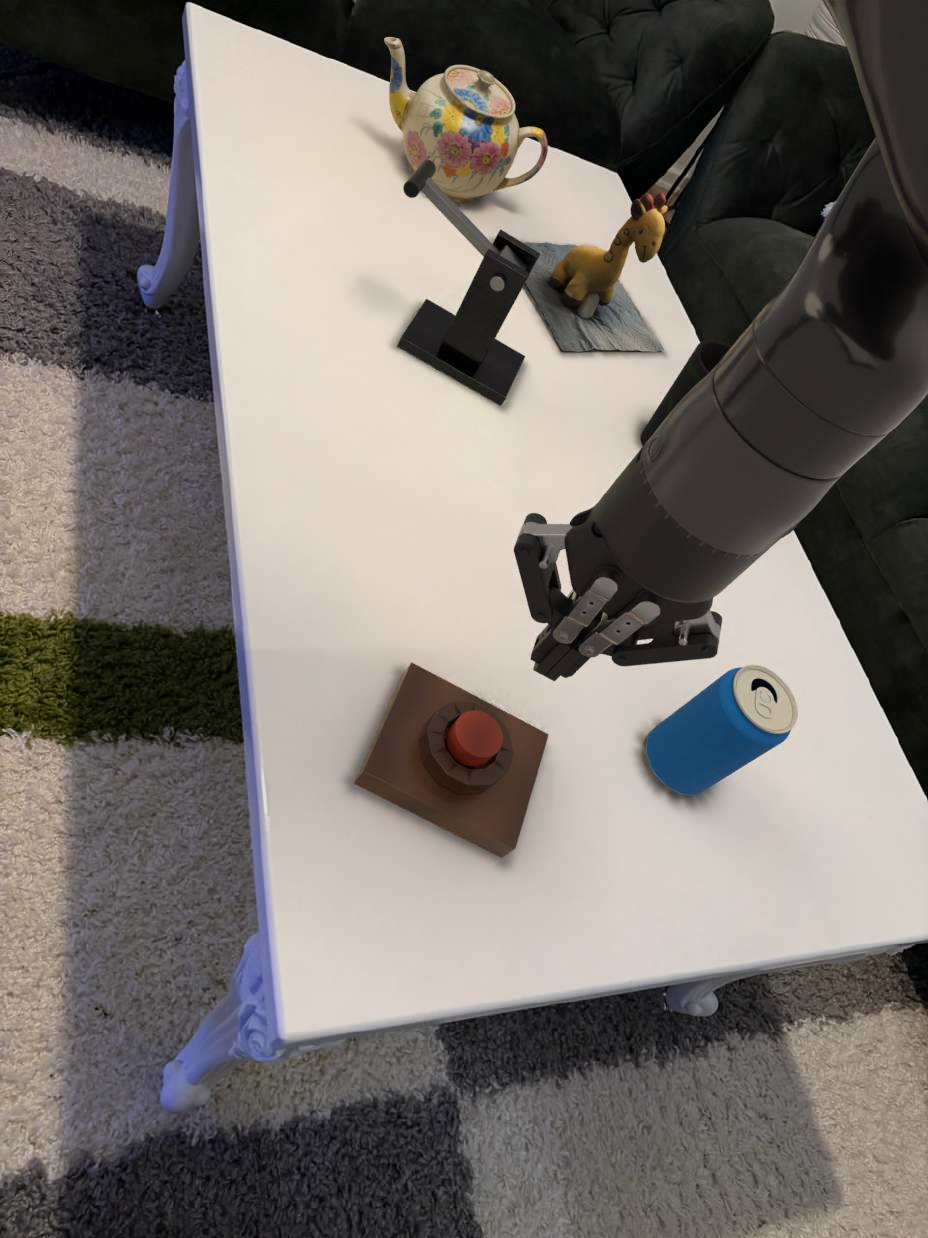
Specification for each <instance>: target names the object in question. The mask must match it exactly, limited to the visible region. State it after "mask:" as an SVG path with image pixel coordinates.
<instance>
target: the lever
mask: <svg viewBox="0 0 928 1238" xmlns="http://www.w3.org/2000/svg"><path fill="white" fill-rule="evenodd" d="M435 172H436V166H435V164H434V163H433V162H432V161H431V160H424V161H423V162H422V163H421V165H420V166H419V167H418V168H417V169H416V171H415V172H414V173H413V174H412V173H411V175H410V176H409V178H408V179H407V180H406V181H405V183H404V184H403V187H402V189H403V193H404V194H405V196H406V197H408V198H410V199H414V198H416V197H417V196H419V194H420V193H422V194H423V195H424V196H425V197H426V198H427V199H428V200H429V201H430V203H431V204H432V205H433V206H434V207H435V208H436V209H437V210H438V211H439V212H440V213H441V214H442V215H443V216H444V217H445V218H446V220H447V221H449V222H450V223H451V224H452V225H453V227H455V229H457V231H458V232H459V233H460V234H461V235H462V236H463V237H464V238H465V239H466V240H467V241H468V242H469V243H470V244H471V245H472V247H474V248H475V250H476V251H478V252H479V254H480V255H481V256H482V258H484V256H485V254H486V252H487V250H488V249H490V250H492V251H494V252H495V253H497V254H499V255H500V256H502V257H504V258H505V259H507V260H509V261H510V262H512V263H514V264H515V265H517V266H519V267H520V268H522V269H524V270H526V268H527V266H526V265H525V264H524V263H523V262H522V261H521V260H520V259H519V257H518V256H517V255H516V254H515V253H514V252H513V251H512V250H511V249H510V248H509V247H508V246H507V245H506V246H505V247H504V248H503V249H502V250H501V251H499V250H498V249H497V248H496V247H495V246H494V245H493V242H491V241H490V240H489V238H487V237H486V235H485V234H484V233H483V232H482V231H481V230H480V229H479V228H478V227H477V226H476V225H475V224H474V222H472V221H471V220H470V218H469V217H468V216H467V215H466V214H465V213H464V212H463V211H462V209H460V208H459V207H458V206H457V205H456V203H455V202H453V201H451V199H450V198H449V197H448V196H447V195H446V194H445V193H444V192H443V191H442V190H441V189H440V188H439V187H438V186H437V185H436V184H435V182H434V181H433V180H432V179H431V178H432V176H433V175H434V174H435Z"/></svg>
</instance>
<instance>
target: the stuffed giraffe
mask: <svg viewBox="0 0 928 1238" xmlns="http://www.w3.org/2000/svg"><path fill="white" fill-rule="evenodd" d="M666 202H667V199H666V196H665V194H664V193H663V192H659V193H657V194H656V195H655V196H654V198H653V196H652V194H650V193H645V194H643V195H642V196H641V198H640V199H639V198H636V199H634V200H633V201H632V203H631V205H630V215H631V216H630V217H629V218H628V219H627V220H626V221H625V223H624V224H623V225H622V226H621V228H619V230H618V231H617V232H616V234H615V237H614V238H613V240H612V242H611V244H610V247H609V249H608V250H605V249H602V248H598V247H595V246H592V245H585V244H583V245H581V244H580V245H576V244H569V243H568V244H557V243H552V242H533V241H532V242H530V241H526V242H523V243H524V244H526V245H527V246H529V247H531V248H532V249H534V250H536V251H537V252H539V253H540V256H539V258H538V259H537V261H536V263H535V265H534V267H533V269H532V271H531V272H530V275H529V277H528V279H527V280H526V282H525V285H526V286H527V288H528V290H529V292H530V293H531V295H532V297H533V298H534V300H535V301H536V304H537V305H538V308H539V310H540V311H541V312H542V313H543V315H544V317H545V320H546V322H547V324H548V325H549V327H550V330H551V332H552V334H553V336H554V338H555V340H556V342H557V343H558V345H559V347H560V348H561V351H566V352H570V351H571V352H576V353H579V352H589V351H591V350H593V349H596V350H600V351H601V350H602V351H615V350H616V351H617V350H619V351H623V352H625V351H633V352H634V351H640V352H652V353H657V352H662V351H665V349H664V347H663V344H662V343H661V342H660V341H659V339H657V338H656V337H655V336H654V335H653V334H652V333H651V332H650V329H649V328H648V325H647V324H646V323H645V321H644V318H643V317H642V316H641V315H642V314H641V312H640V310H639V309H638V306H637V305H635V302H634V301H633V300H632V298H631V297H630V296H629V295H628V292H627V290H626V288H625V287H624V285H623V283H621V281H620V277H621V274H622V271H623V269H624V267H625V265H626V260H627V258H628V255H629V250H630V248H631V246H632V245H633V243H634V250H635V254H636V257H637V258H638V261H639V262H640V263H642V264H645V263H647V262H649V261H651V260H652V259H653V258H654V257H655V256H656V254H657V253H658V252H659V250H660V247H661V245H662V241H663V238H664V235H665V232H666V222H665V221H666V220H665V219H664V215H665V214H667V212H668V210H669V207H668V206H667V205H665V204H666Z"/></svg>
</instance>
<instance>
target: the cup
mask: <svg viewBox="0 0 928 1238" xmlns="http://www.w3.org/2000/svg"><path fill="white" fill-rule="evenodd" d="M732 346H733V345H732ZM732 346H731V345H730V344H728V343H727V342H723V341H720V340H716V339H705V340H702V341H700V342H699V343H698V344H697V345H696V347H695V349H694V350H693V352H692V354H691V355H690V356H689V358H688V359H687V361H686V363H685V365H683V367H682V369H681V370H680V372H679V374H678V375H677V377H676V378H675V380H674V381H673V383H672V385H671V386H670V388H669V389H668V391H667V392H666V394H665V395H664V397H663V398H662V400H661V401H660V403H659V405H658V406H657V408H656V409H655V411H654V412H653V414H652V415H651V417H650V418H649V420H648V421H647V423H646V425H645V426H644V428H643V430H642V431H641V434H640V443H641V445H642V447H643V446H644V445H645V443H646V442H647V441H648V440H649V439H650V437H651V436H652V435H653V434H654V432H655V431H656V430H657V428H658V427H659V426H660V425H661V424H662V422H663V421H664V420H665V419H666V417H667V416H668V415H669V414H670V412H671V411H672V410H673V409H674V408H675V406H676V405H677V404H678V403H679V402H680V401H681V400H682V398H683V397H684V396H685V395H686V394H687V393H688V392H689V391H690V390H691V389H692V388H693V387H694V386H696V385H697V384H698V383H699V382H700V381H701V380H702V379H703V378H704V377H705V376H707V375H708V374H709V373H710V372H711V371H712V370H713V368H714V367H715V366H716V365H717V364H718V363H719V362H720V361H721V359H722V358H723V357H724V356H725V354H726V353H727V352H728V351H729V350H730V348H731V347H732Z"/></svg>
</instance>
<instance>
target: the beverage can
mask: <svg viewBox="0 0 928 1238" xmlns="http://www.w3.org/2000/svg"><path fill="white" fill-rule="evenodd" d="M798 718H799V709H798V704H797V701H796V698H795V695H794V694H793V692H792V690H791V689H790V687H789V686H788V684H787V683H786V682H785V681H784V679H783V678H781V676H780V675H778V674H777V673H776V672H774V671H773V670H771V669H770V668H768V667H766V666H763V665H759V664H747V665H744V666H742V667H735V668H734V667H733V668H731V669H729V670H728V671H727V672H725V673H723V674H722V675H721V676H720V677H718V678H717V679H716V680H714V681H713V682H712V683H711V684H709V685H708V686H707V687H705V688H704V689H702V690H701V691H700V692H699V693H697V694H696V695H695V696H693V697H692V698H691V699H690V700H688V701H687V702H686V703H684V704H683V705H682V706H680V707H679V708H677V709H676V710H675V711H674V712H672V713H671V714H670V715H669V716H667V717H666V718H665V719H663V720H662V721H661V722H660V723H658V724H657V725H656V726H654V727H653V728H652V729H651V731H650V732H649V734H648V735H647V738H646V742H645V751H646V753H645V754H646V757H647V761H648V763H649V765H650V768H651V770H652V772H653V773H654V774H655V776H656V777H657V778H658V779H659V781H661V783H662V784H663V785H665V786H666V787H667V788H669V789H670V790H672V791H673V792H675V793H677V794H681V795H685V796H695V795H699V794H701V793H704V792H705V791H706V790H708V789H709V788H711V787H713V786H714V785H716V784H718V783H719V782H721V781H723V780H724V779H726V778H727V777H729V776H731V775H732V774H734V773H736V772H737V771H739V770H740V769H742V768H743V767H745V766H747V765H749V764H750V763H751V762H754V761H755V760H756V759H758V758H760V757H761V756H763V755H764V754H766V753H767V752H769V751H772V750H773V749H774V748H776V747H777V746H779V745H781V744H782V743H784V742H785V741H786V740H787V739H788V737H789V736H790V734H791V731H792V729H794V727H795V726H796V724H797V722H798Z"/></svg>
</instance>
